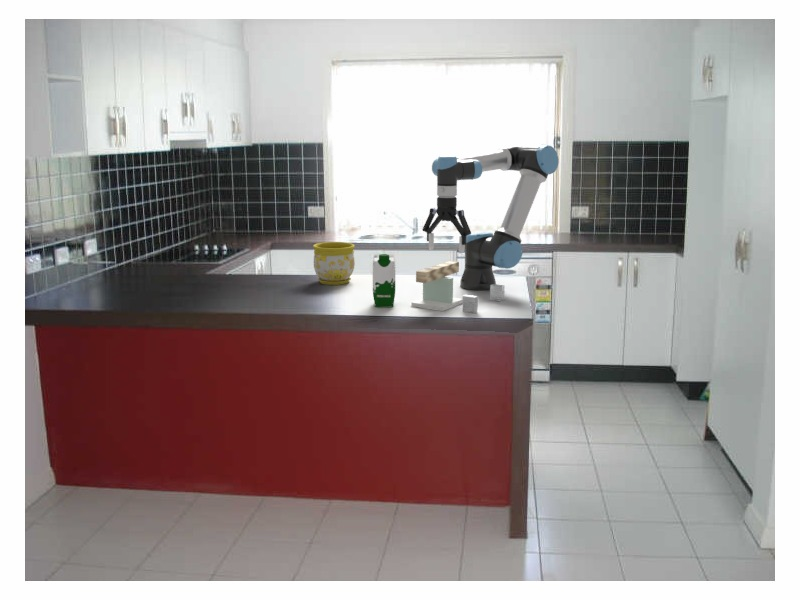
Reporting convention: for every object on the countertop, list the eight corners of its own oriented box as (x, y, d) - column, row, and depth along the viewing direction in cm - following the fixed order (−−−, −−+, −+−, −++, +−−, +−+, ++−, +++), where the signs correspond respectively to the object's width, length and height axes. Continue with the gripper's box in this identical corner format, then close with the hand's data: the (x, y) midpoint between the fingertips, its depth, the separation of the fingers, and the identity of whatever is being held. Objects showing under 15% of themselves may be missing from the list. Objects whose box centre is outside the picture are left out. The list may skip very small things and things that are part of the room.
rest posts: (492, 298, 331) (493, 284, 330) (504, 300, 328) (504, 285, 327) (462, 311, 310) (462, 295, 309) (474, 313, 307) (474, 297, 306)
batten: (449, 270, 330) (450, 260, 329) (458, 271, 328) (458, 261, 327) (416, 281, 309) (416, 271, 308) (425, 283, 307) (425, 272, 306)
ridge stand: (432, 298, 331) (432, 271, 329) (463, 302, 324) (463, 275, 321) (411, 306, 318) (411, 278, 316) (443, 311, 311) (443, 282, 308)
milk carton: (372, 307, 315) (372, 256, 311) (372, 302, 324) (372, 252, 320) (395, 307, 316) (395, 256, 311) (395, 302, 325) (395, 252, 320)
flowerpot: (310, 279, 367) (309, 242, 364) (349, 277, 373) (349, 241, 369) (318, 287, 351) (317, 249, 347) (359, 285, 356) (359, 247, 352)
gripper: (414, 195, 320) (413, 249, 325) (471, 199, 307) (470, 255, 312) (423, 193, 326) (423, 247, 331) (480, 197, 313) (479, 252, 318)
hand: (446, 251), depth 321 cm, fingers open, 13 cm apart
